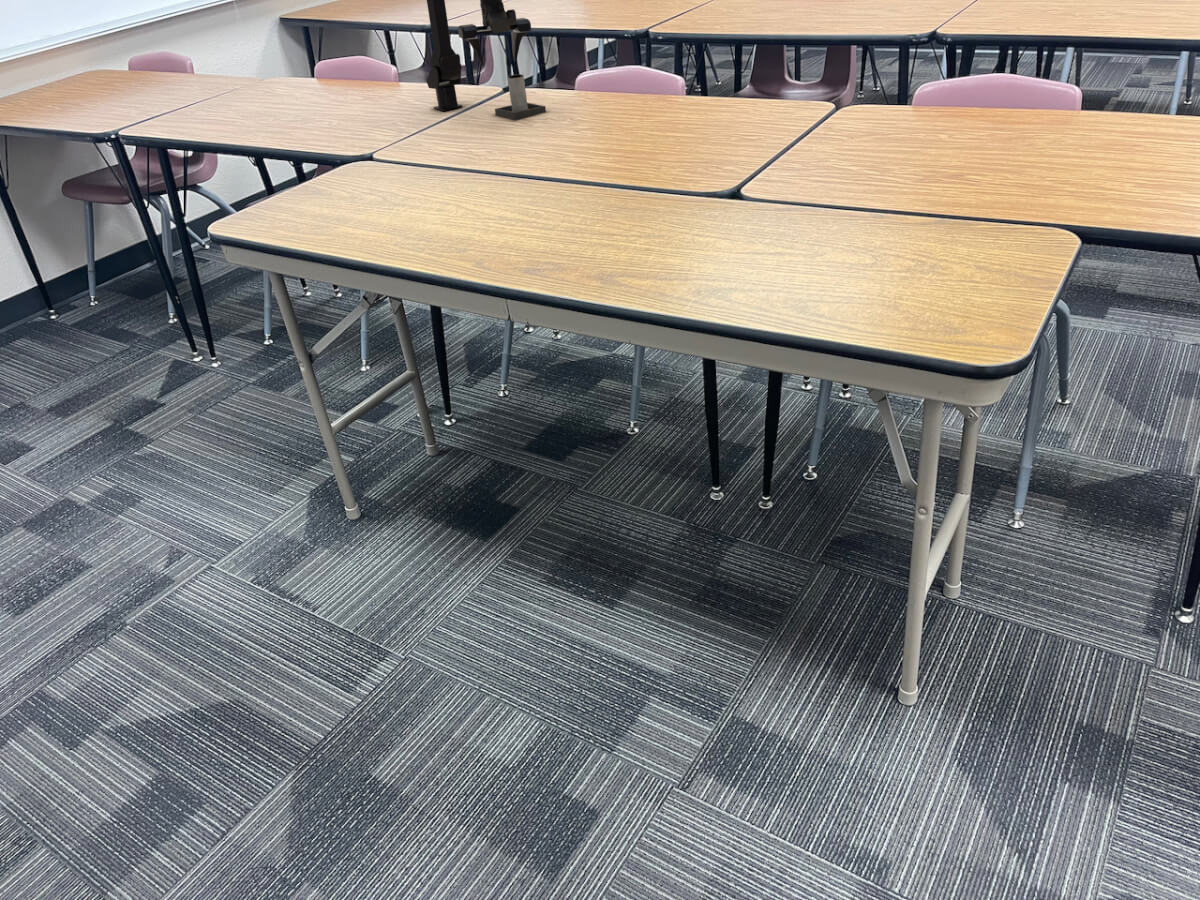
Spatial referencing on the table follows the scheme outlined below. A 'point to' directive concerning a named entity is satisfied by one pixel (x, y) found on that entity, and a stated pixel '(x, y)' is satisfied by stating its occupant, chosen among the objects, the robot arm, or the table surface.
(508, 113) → the black square frame
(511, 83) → the gray cylinder
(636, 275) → the table surface
